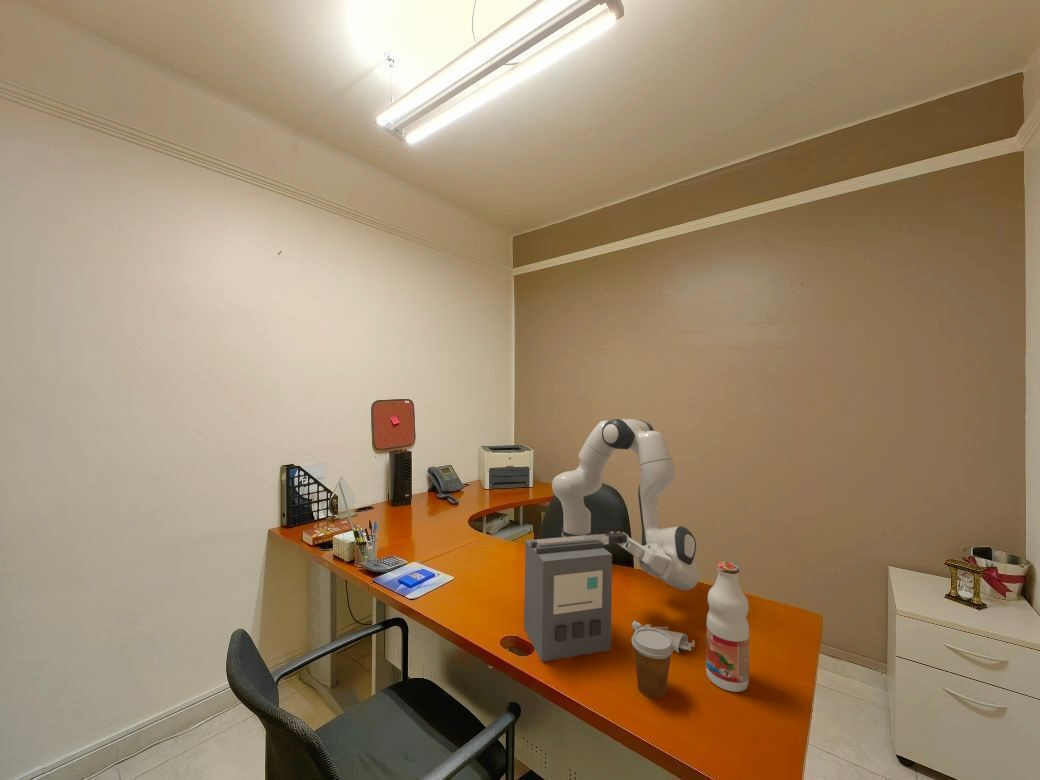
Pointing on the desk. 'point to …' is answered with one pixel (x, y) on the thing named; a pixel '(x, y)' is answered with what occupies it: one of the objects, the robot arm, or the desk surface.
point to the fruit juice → (727, 631)
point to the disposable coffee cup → (652, 660)
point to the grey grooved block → (568, 599)
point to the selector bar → (585, 539)
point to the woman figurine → (675, 637)
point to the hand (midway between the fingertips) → (619, 539)
